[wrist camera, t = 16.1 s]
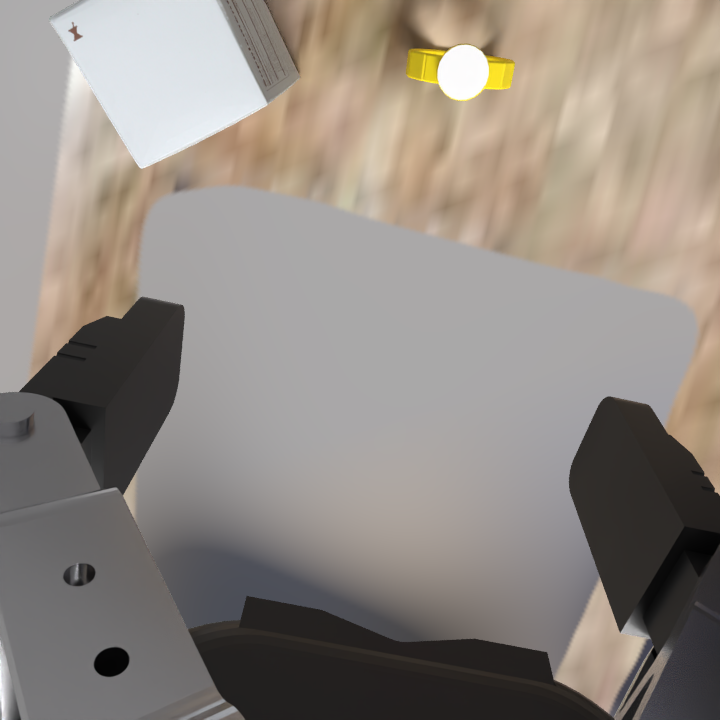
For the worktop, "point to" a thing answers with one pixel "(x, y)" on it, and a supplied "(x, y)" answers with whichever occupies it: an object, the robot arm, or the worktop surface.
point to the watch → (460, 70)
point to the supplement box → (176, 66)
